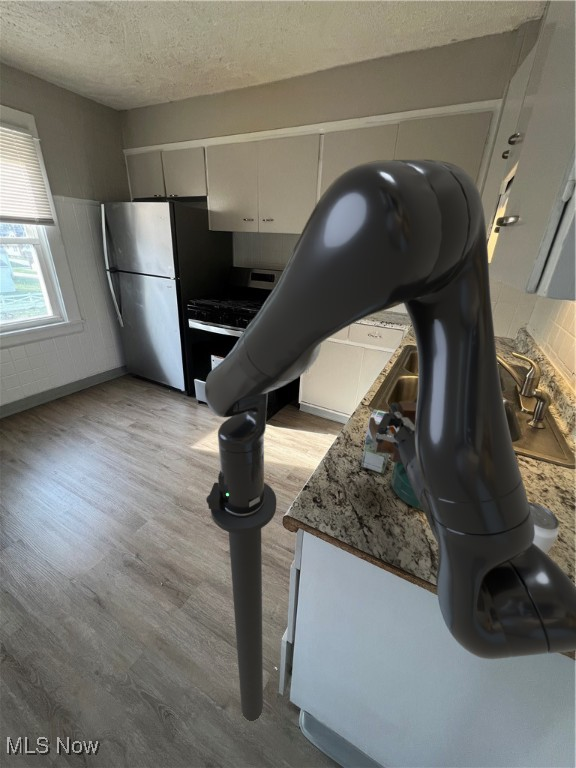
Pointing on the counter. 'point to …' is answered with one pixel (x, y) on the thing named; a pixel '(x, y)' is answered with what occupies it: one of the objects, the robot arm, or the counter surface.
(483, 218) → the robot arm
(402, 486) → the teal pet bowl
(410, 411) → the brown wooden holder
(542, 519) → the can
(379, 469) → the syrup box
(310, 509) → the counter surface
